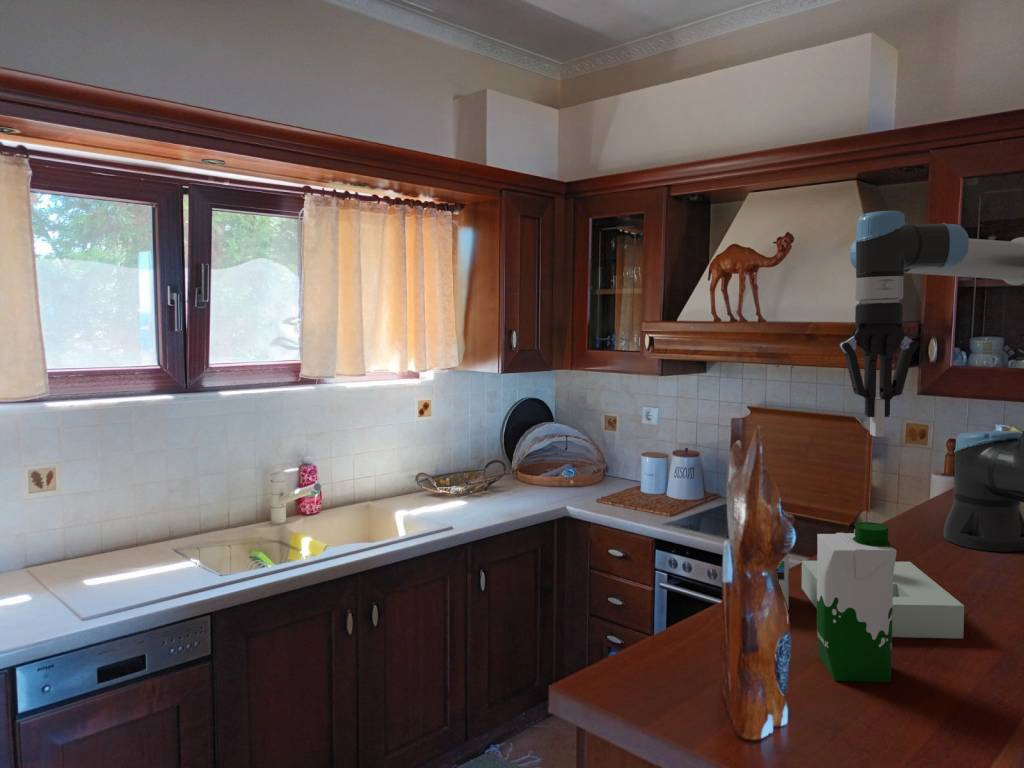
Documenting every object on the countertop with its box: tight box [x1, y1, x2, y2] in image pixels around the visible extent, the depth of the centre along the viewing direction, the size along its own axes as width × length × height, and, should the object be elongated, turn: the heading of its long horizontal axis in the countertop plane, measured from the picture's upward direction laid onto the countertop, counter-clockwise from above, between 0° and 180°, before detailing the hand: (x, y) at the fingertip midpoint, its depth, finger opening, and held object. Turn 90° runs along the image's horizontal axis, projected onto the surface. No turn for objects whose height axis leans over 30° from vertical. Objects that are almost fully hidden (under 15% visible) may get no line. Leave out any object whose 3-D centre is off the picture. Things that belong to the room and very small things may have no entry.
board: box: [801, 560, 965, 640], centre depth 123 cm, size 18×20×5 cm
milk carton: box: [816, 521, 897, 683], centre depth 102 cm, size 9×9×20 cm
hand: (877, 435), depth 135 cm, fingers closed
